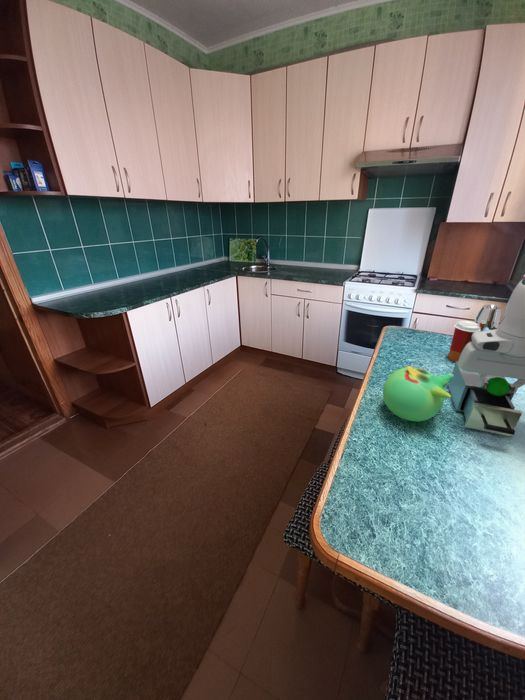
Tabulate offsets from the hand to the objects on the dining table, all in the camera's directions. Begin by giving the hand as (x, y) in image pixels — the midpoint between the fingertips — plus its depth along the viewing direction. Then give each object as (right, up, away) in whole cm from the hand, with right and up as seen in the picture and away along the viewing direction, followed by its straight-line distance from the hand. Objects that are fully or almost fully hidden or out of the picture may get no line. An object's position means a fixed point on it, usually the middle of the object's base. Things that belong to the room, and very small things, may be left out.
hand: (496, 388), depth 77 cm
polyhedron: (0, -2, +1) cm, 2 cm away
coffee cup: (+15, +7, +38) cm, 41 cm away
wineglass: (+25, +9, +42) cm, 50 cm away
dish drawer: (0, -10, +4) cm, 11 cm away
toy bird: (-18, -9, +10) cm, 23 cm away
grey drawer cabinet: (+4, -6, +14) cm, 16 cm away
